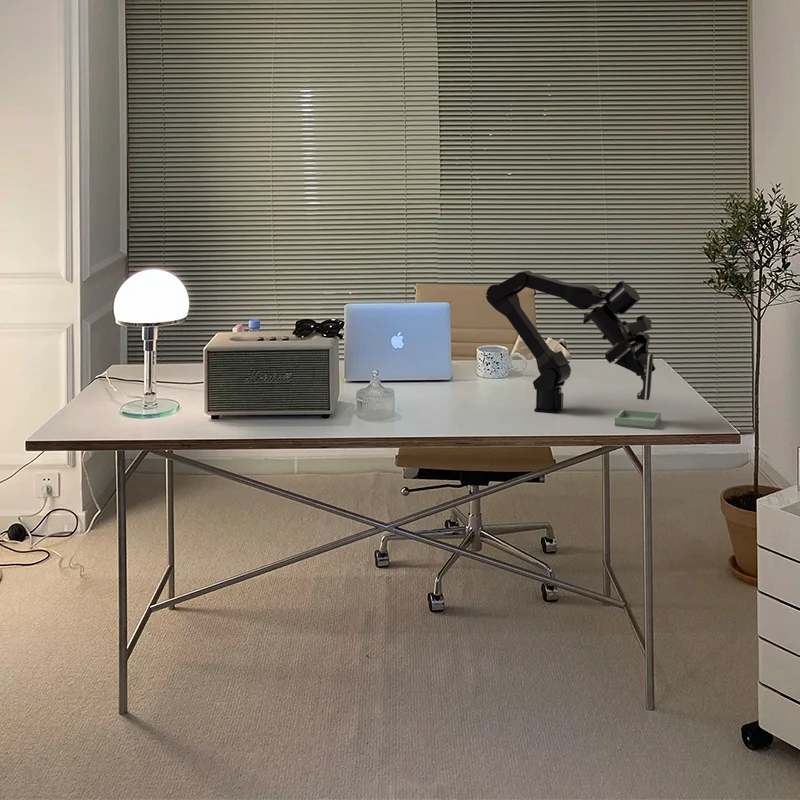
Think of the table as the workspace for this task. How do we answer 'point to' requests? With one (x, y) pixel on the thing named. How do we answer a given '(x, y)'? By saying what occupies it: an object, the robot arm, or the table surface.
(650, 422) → the tray
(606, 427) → the table surface
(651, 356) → the dark grey curved piece
